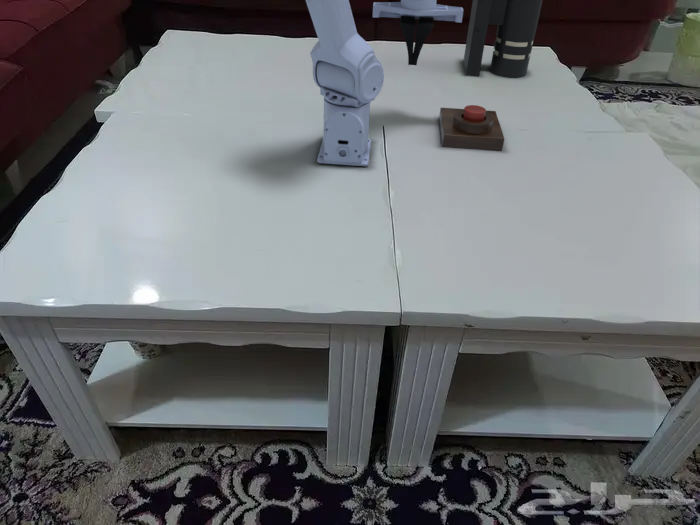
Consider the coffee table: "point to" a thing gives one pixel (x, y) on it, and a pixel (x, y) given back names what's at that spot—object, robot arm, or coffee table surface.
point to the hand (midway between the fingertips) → (412, 63)
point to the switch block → (470, 130)
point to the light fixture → (502, 35)
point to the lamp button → (474, 113)
